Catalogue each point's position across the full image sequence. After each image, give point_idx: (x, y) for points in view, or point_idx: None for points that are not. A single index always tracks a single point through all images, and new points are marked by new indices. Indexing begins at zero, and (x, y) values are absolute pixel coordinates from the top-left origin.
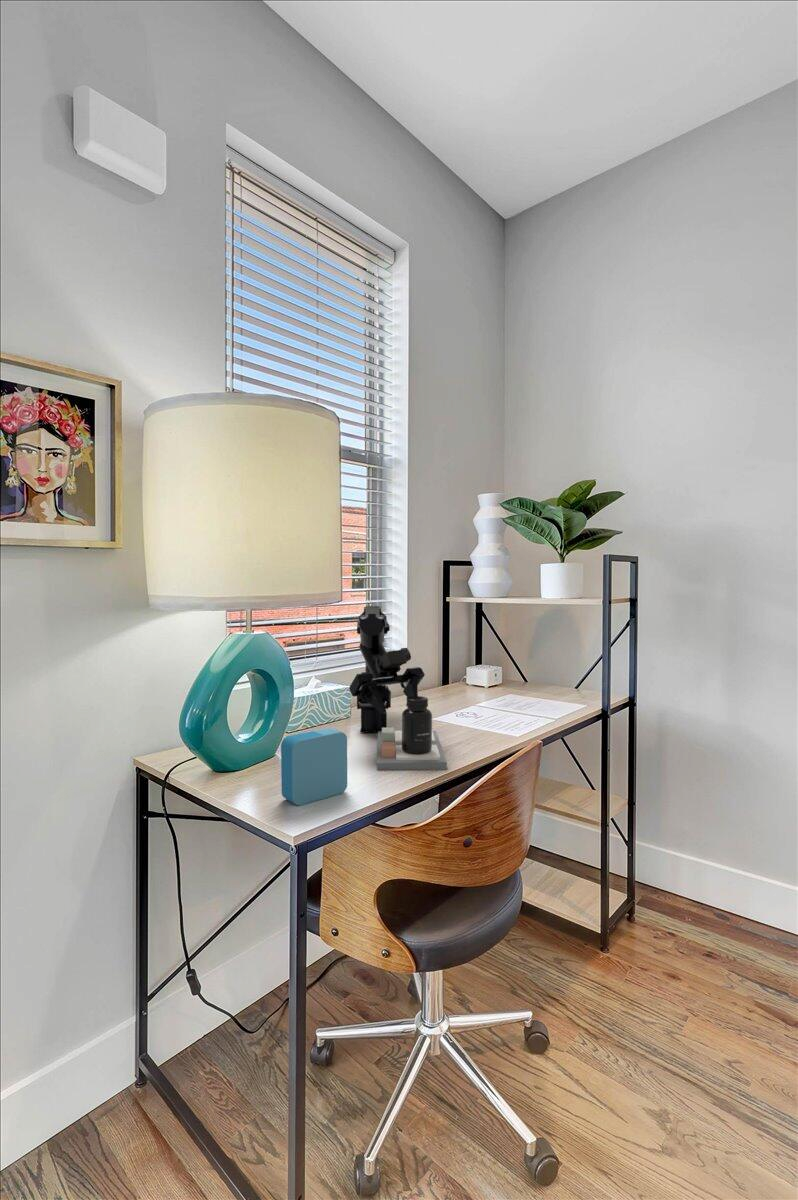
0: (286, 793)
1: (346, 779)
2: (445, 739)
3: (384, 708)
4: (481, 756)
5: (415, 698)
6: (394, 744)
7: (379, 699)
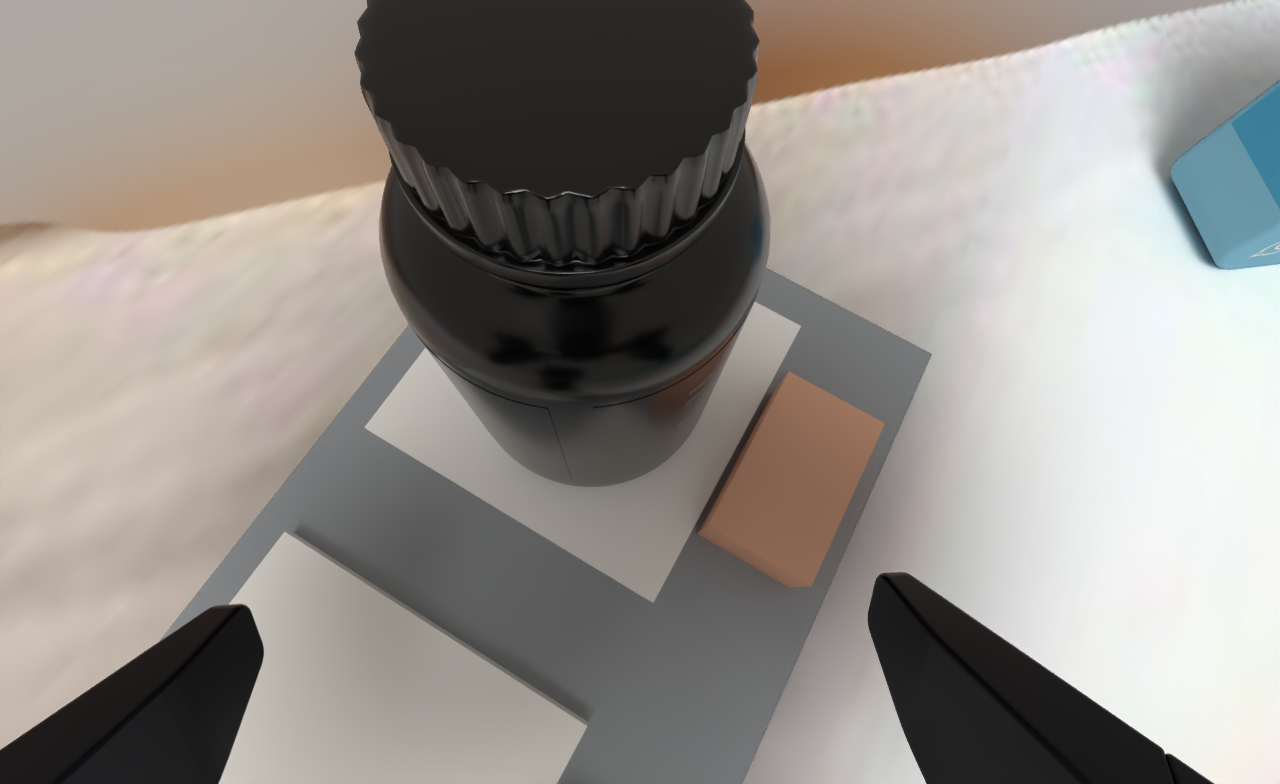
0: None
1: (1213, 132)
2: None
3: (923, 601)
4: (197, 243)
5: (613, 16)
6: (746, 459)
7: (1101, 740)
